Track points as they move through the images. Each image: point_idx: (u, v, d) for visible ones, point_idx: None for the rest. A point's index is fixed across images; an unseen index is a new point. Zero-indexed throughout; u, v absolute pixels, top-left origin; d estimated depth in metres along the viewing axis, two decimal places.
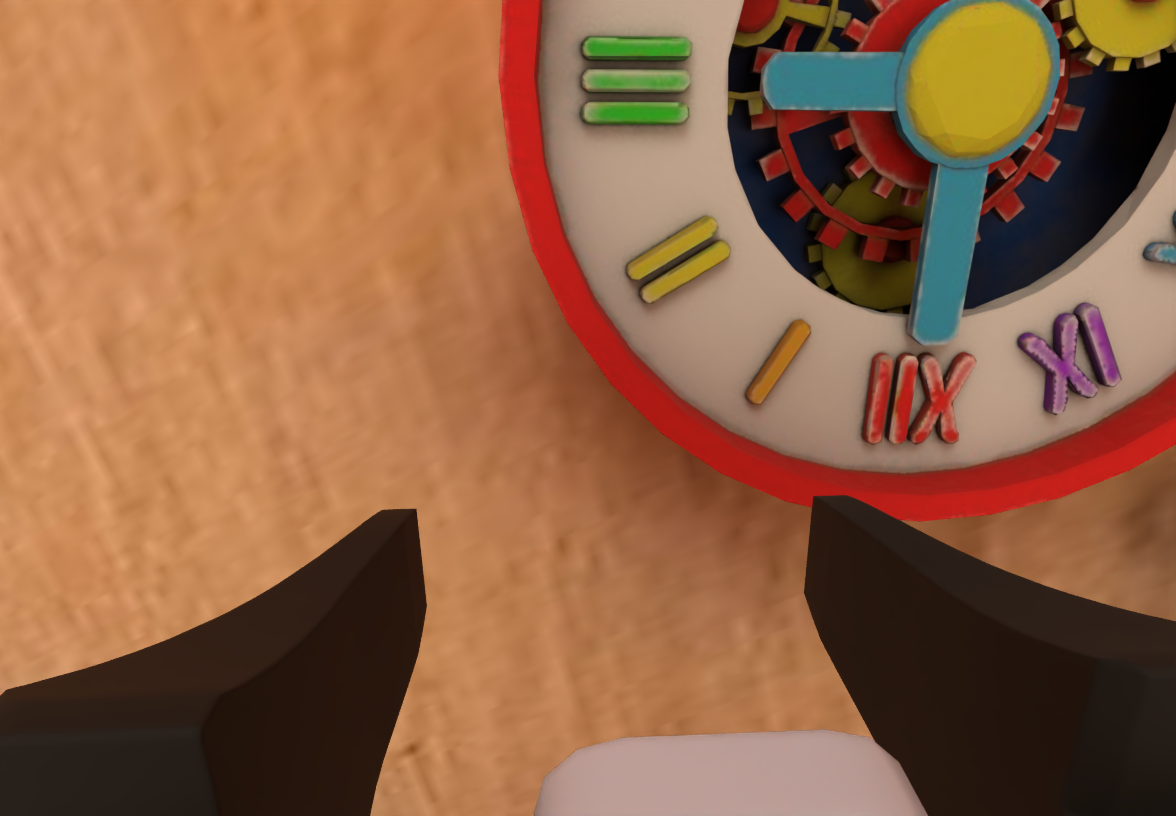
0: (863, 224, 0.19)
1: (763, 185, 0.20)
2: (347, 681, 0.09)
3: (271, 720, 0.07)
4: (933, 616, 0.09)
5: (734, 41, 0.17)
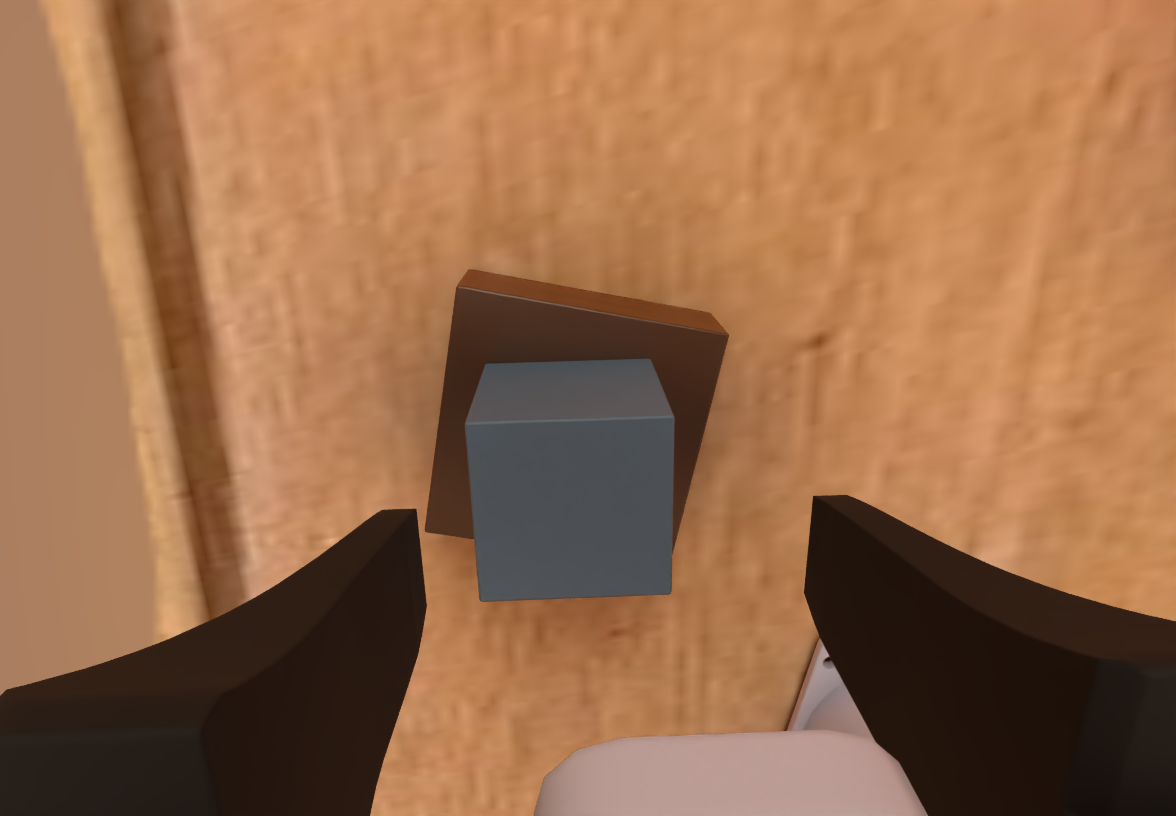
0: None
1: None
2: (347, 682, 0.09)
3: (272, 721, 0.07)
4: (933, 616, 0.09)
5: None
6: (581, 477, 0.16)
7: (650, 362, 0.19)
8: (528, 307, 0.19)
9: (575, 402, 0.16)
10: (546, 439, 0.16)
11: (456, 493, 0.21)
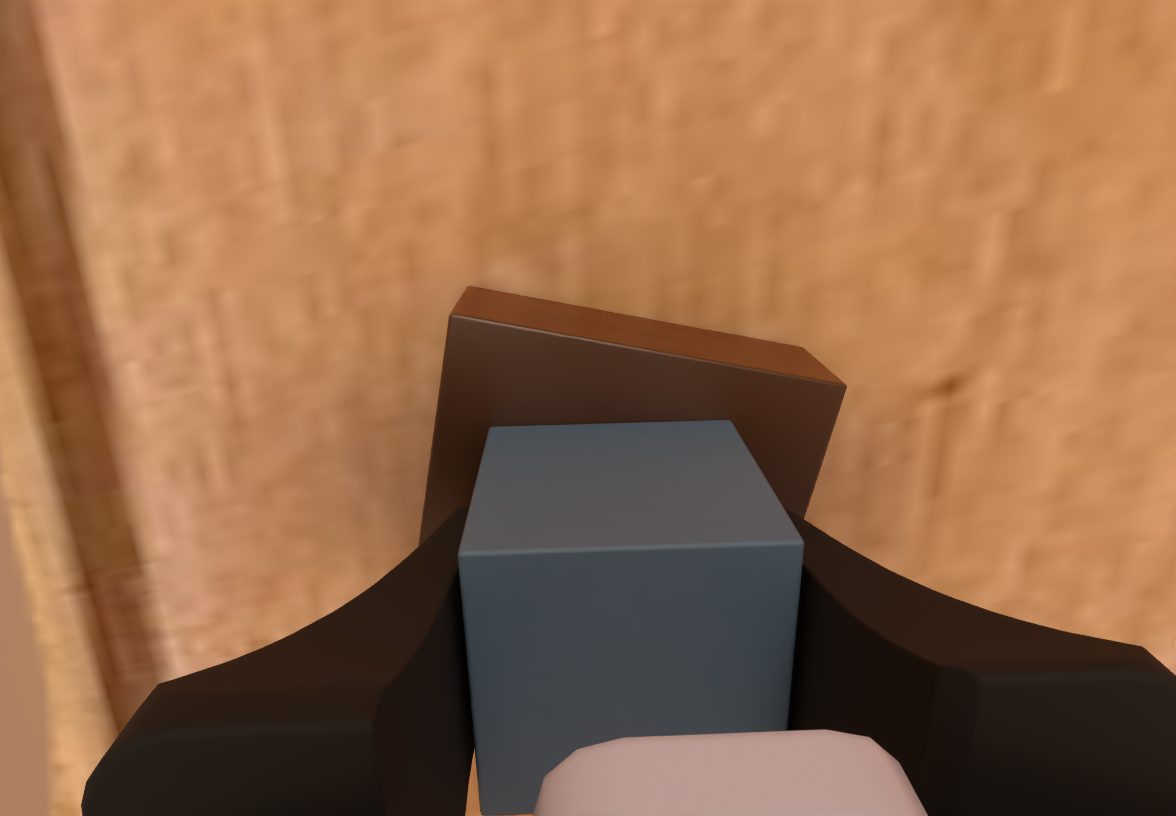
0: None
1: None
2: (451, 677, 0.09)
3: (411, 715, 0.07)
4: (822, 620, 0.09)
5: None
6: (647, 636, 0.10)
7: (732, 427, 0.13)
8: (554, 345, 0.13)
9: (635, 509, 0.10)
10: (591, 579, 0.09)
11: None
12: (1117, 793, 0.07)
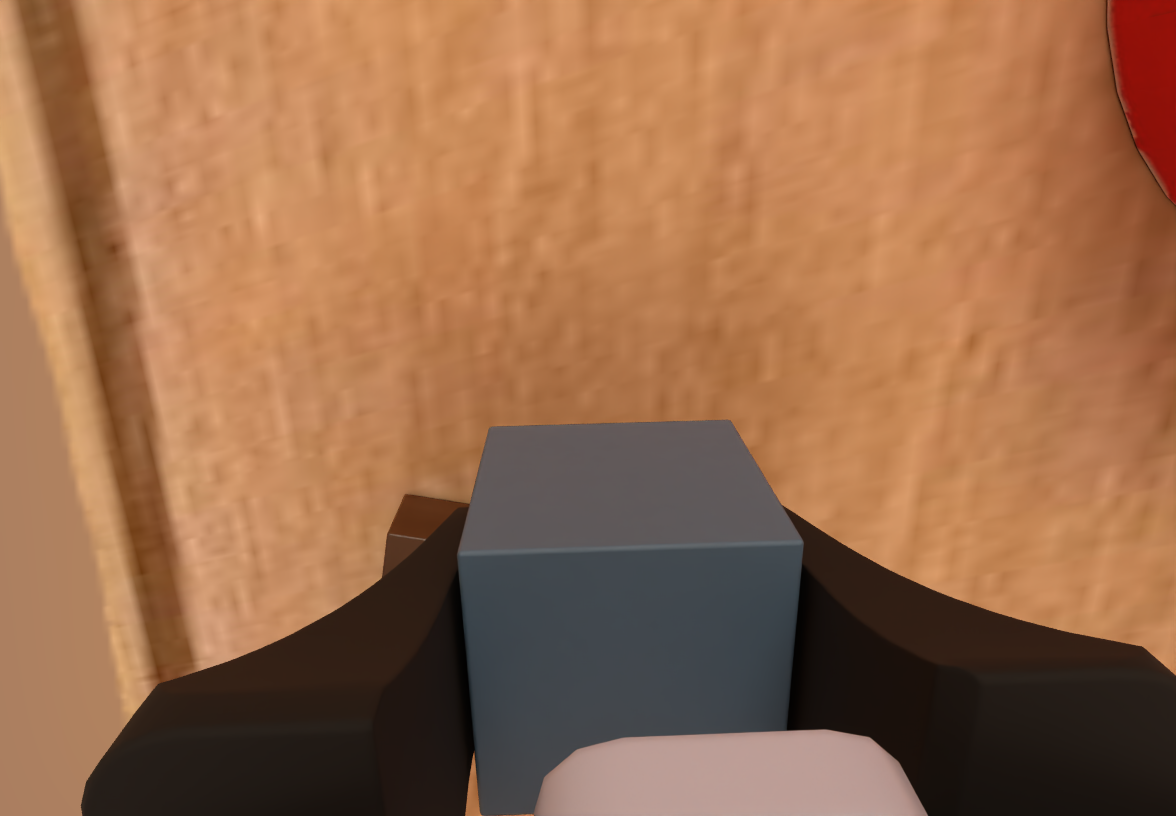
0: None
1: None
2: (451, 678, 0.09)
3: (411, 715, 0.07)
4: (822, 620, 0.09)
5: None
6: (646, 636, 0.10)
7: (732, 427, 0.13)
8: None
9: (635, 508, 0.10)
10: (591, 579, 0.09)
11: None
12: (1116, 793, 0.07)
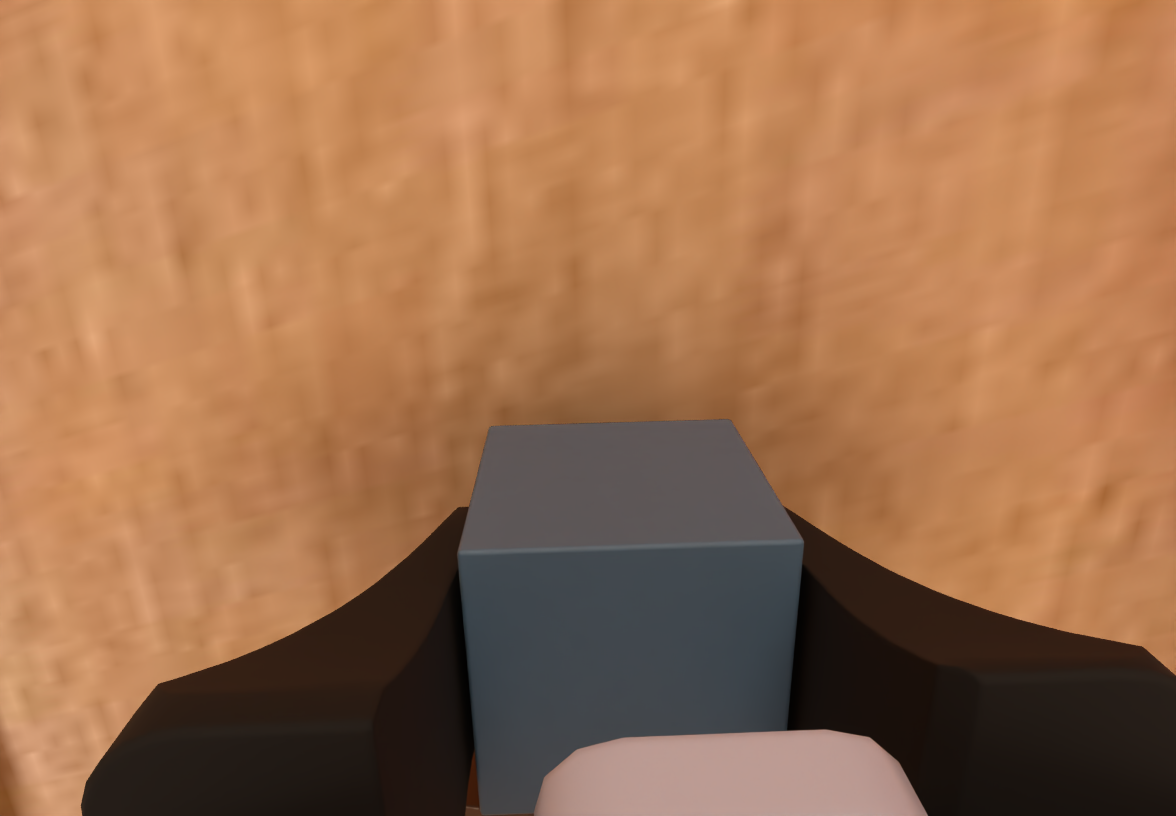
0: None
1: None
2: (451, 677, 0.09)
3: (411, 715, 0.07)
4: (822, 620, 0.09)
5: None
6: (647, 636, 0.10)
7: (732, 426, 0.13)
8: None
9: (636, 508, 0.10)
10: (591, 578, 0.09)
11: None
12: (1117, 794, 0.07)
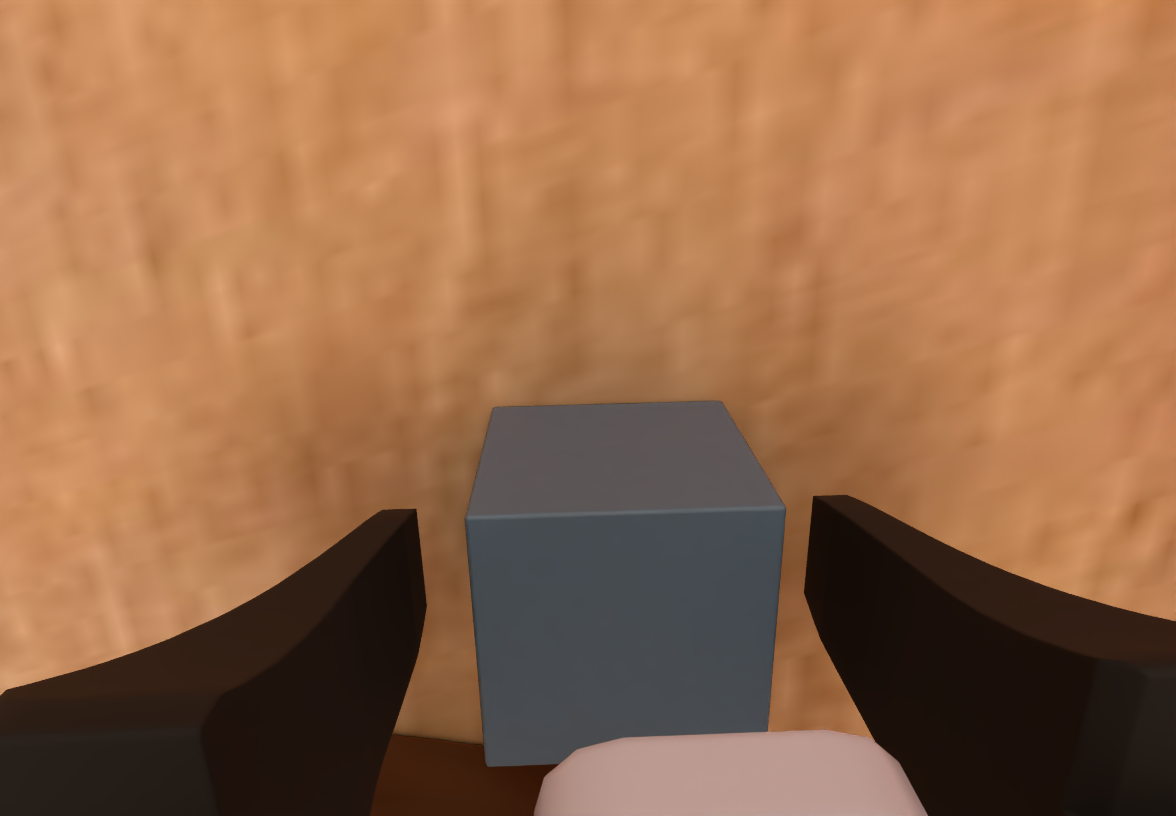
0: None
1: None
2: (346, 681, 0.09)
3: (272, 721, 0.07)
4: (933, 616, 0.09)
5: None
6: (640, 596, 0.11)
7: (723, 407, 0.14)
8: None
9: (631, 478, 0.11)
10: (589, 541, 0.10)
11: None
12: None
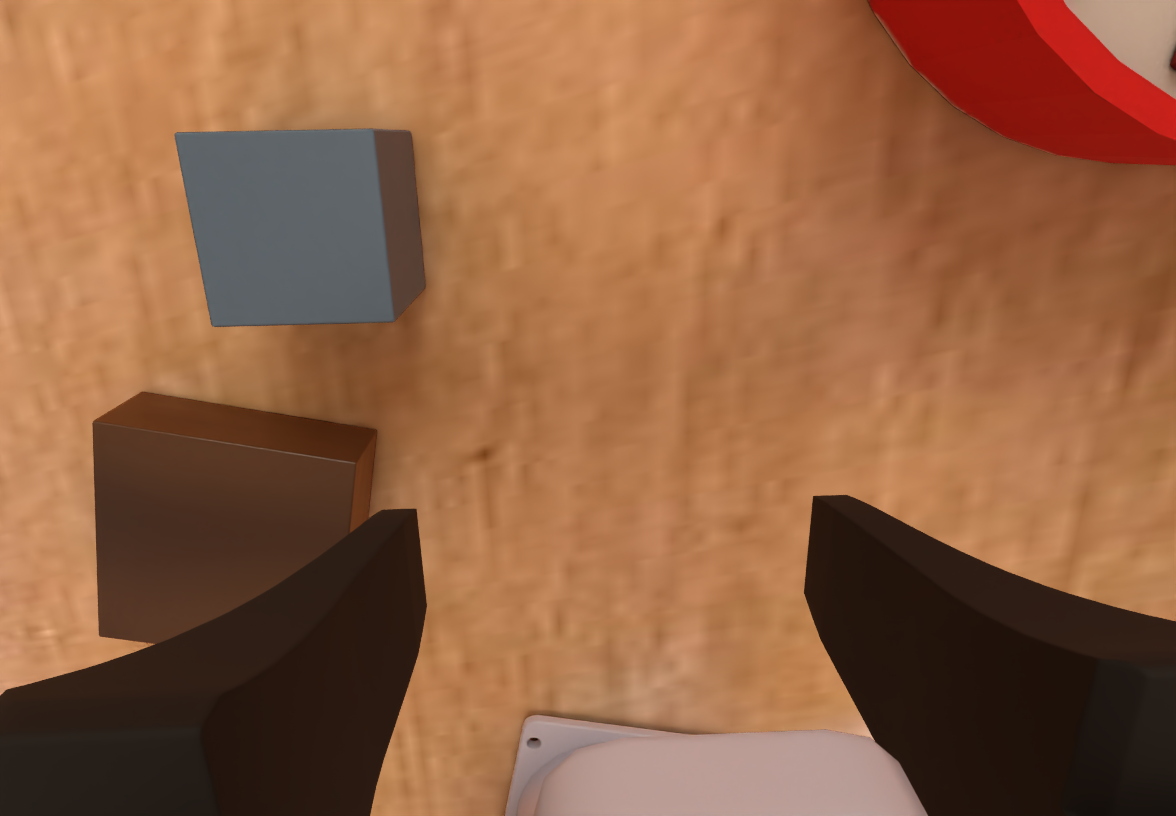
0: None
1: None
2: (346, 681, 0.09)
3: (272, 720, 0.07)
4: (933, 616, 0.09)
5: None
6: (292, 194, 0.17)
7: None
8: (162, 439, 0.21)
9: None
10: (253, 152, 0.17)
11: (122, 602, 0.22)
12: None
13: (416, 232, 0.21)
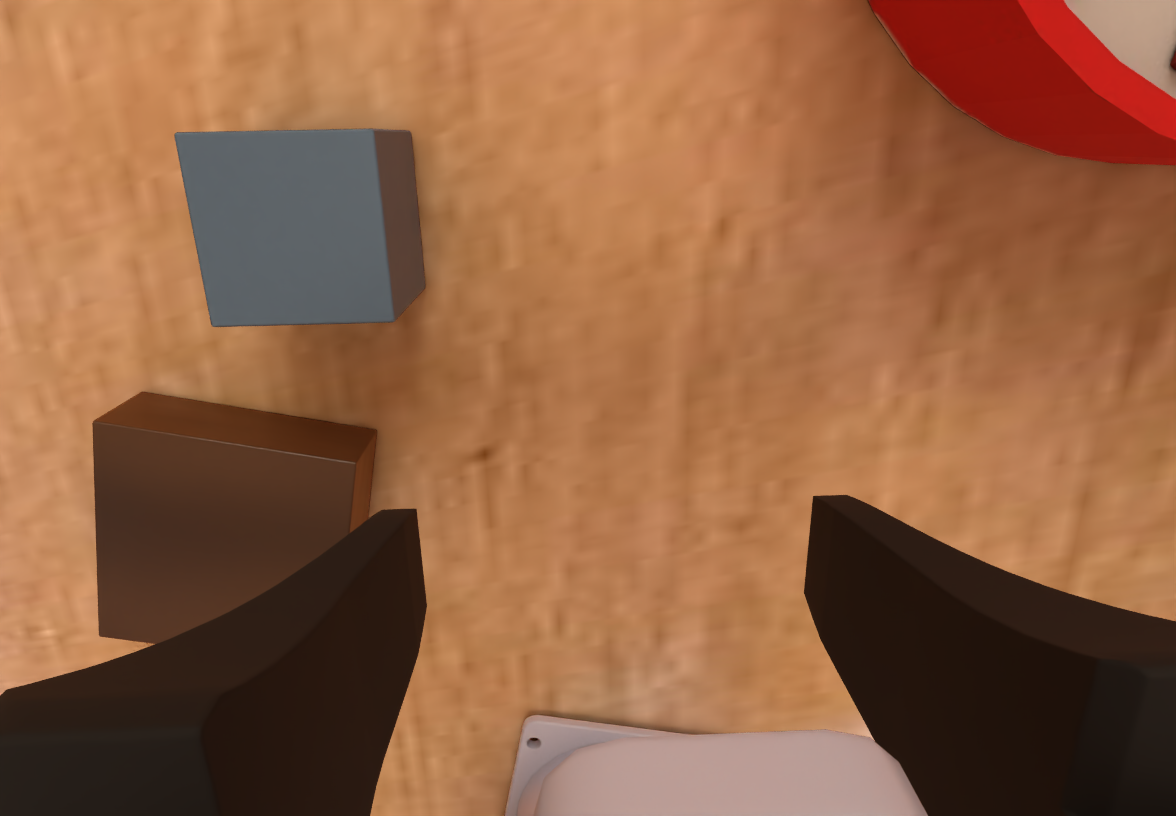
0: None
1: None
2: (346, 681, 0.09)
3: (272, 720, 0.07)
4: (933, 616, 0.09)
5: None
6: (292, 193, 0.17)
7: None
8: (162, 439, 0.21)
9: None
10: (253, 152, 0.17)
11: (122, 602, 0.22)
12: None
13: (416, 232, 0.21)
